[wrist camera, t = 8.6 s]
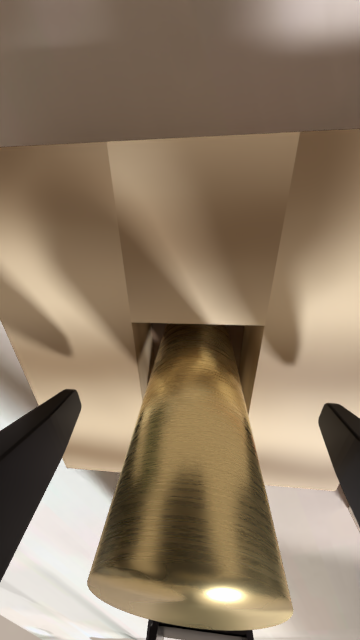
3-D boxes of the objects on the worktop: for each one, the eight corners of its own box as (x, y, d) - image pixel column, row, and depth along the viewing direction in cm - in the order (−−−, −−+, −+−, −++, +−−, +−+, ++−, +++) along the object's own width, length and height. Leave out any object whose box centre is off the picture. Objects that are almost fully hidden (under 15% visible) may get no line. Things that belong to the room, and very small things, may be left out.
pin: (226, 365, 12) (272, 640, 4) (165, 362, 13) (106, 615, 5) (232, 308, 11) (319, 581, 3) (162, 307, 11) (63, 550, 3)
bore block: (304, 427, 16) (335, 491, 12) (94, 414, 17) (66, 467, 13) (404, 157, 8) (553, 118, 5) (24, 172, 10) (-76, 150, 6)
